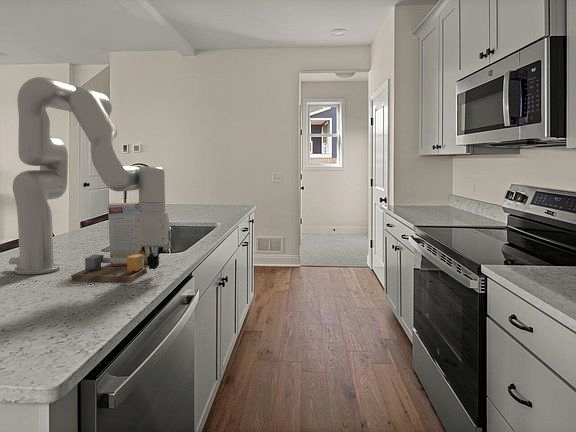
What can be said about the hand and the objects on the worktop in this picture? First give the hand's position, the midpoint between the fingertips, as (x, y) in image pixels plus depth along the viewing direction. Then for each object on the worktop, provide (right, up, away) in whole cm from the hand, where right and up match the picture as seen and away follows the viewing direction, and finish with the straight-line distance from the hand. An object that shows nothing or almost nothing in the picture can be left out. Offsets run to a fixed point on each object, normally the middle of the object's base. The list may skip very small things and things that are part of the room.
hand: (153, 268), depth 146 cm
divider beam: (-13, -1, 0) cm, 13 cm away
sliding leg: (-6, -1, 0) cm, 6 cm away
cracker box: (-13, -1, +19) cm, 22 cm away
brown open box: (-13, -3, 0) cm, 13 cm away
